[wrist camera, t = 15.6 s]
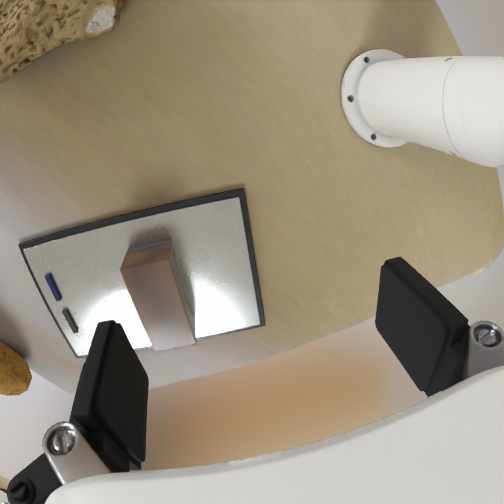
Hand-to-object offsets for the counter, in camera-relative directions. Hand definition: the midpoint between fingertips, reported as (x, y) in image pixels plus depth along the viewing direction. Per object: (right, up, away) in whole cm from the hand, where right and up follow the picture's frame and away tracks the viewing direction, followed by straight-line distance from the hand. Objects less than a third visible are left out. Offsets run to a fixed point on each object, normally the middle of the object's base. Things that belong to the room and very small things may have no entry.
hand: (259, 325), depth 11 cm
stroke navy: (-26, -2, +25) cm, 36 cm away
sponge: (-23, +28, +12) cm, 38 cm away
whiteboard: (-15, -2, +28) cm, 32 cm away
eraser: (-11, -2, +28) cm, 30 cm away
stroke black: (-26, -7, +28) cm, 38 cm away
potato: (-43, -14, +29) cm, 54 cm away
